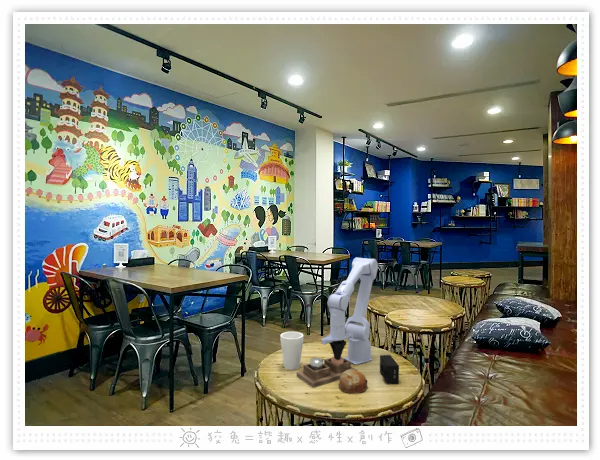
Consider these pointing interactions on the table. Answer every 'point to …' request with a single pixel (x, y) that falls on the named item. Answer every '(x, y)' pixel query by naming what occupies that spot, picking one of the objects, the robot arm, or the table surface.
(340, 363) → the tan rounded piece
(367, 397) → the table surface
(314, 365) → the grey plunger
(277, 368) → the table surface
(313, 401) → the table surface
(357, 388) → the bread roll
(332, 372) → the brown wooden tray
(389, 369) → the digital camera
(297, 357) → the foam cup
